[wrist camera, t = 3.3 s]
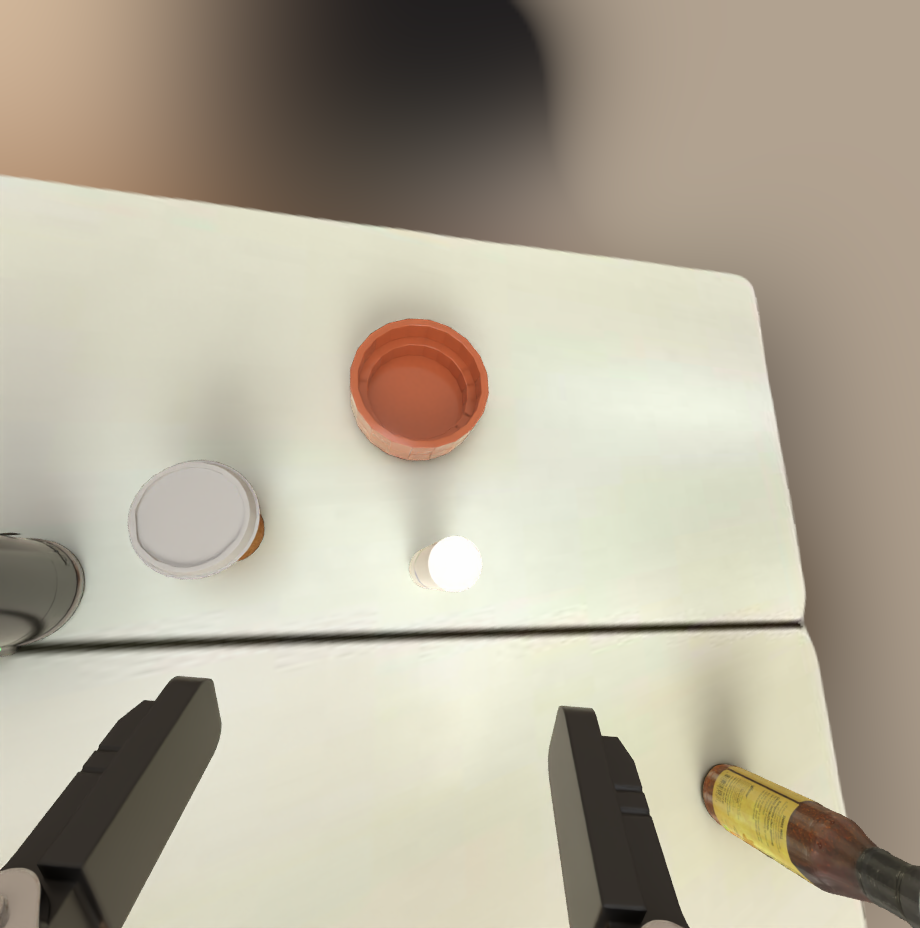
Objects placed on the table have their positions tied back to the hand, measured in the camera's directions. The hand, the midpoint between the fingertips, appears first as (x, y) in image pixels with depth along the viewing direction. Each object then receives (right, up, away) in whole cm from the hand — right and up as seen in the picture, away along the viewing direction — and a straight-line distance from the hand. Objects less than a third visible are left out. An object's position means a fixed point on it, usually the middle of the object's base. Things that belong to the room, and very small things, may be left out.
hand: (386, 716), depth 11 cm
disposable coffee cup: (-22, -1, +37) cm, 42 cm away
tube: (-2, -5, +40) cm, 40 cm away
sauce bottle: (+31, -30, +41) cm, 59 cm away
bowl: (-4, +13, +44) cm, 46 cm away
